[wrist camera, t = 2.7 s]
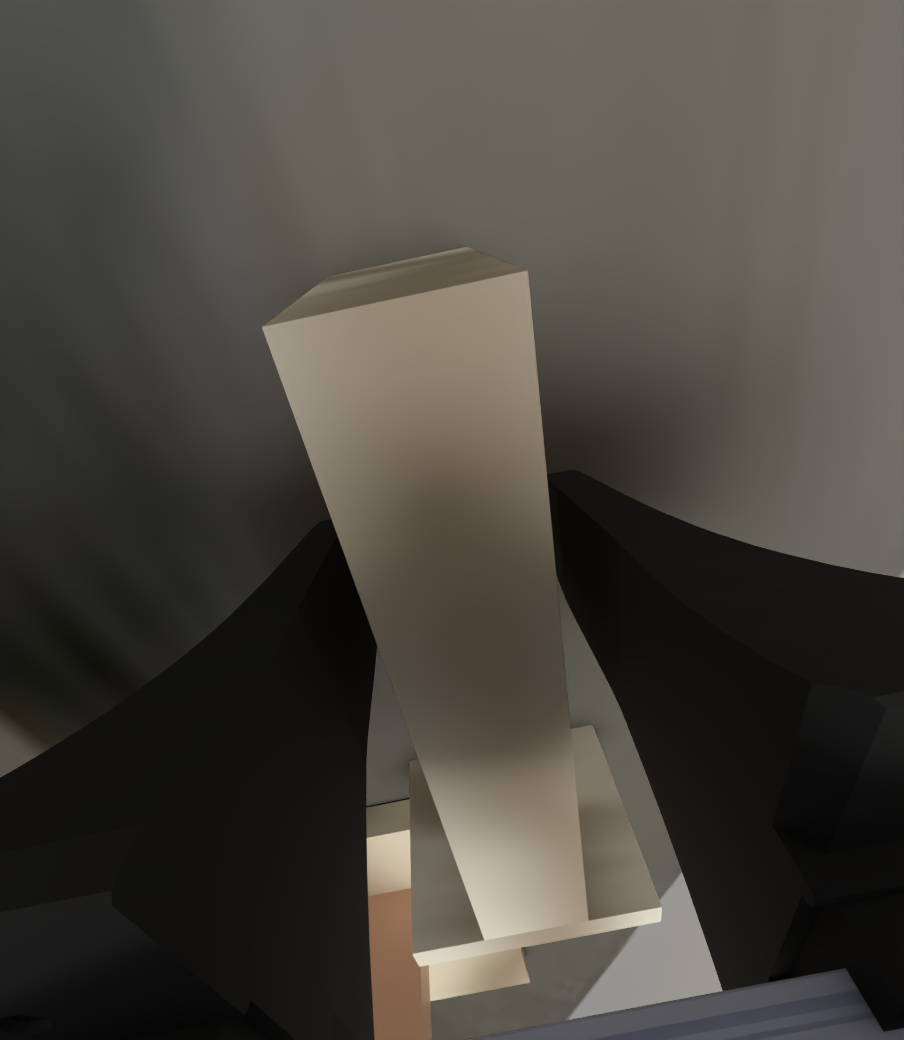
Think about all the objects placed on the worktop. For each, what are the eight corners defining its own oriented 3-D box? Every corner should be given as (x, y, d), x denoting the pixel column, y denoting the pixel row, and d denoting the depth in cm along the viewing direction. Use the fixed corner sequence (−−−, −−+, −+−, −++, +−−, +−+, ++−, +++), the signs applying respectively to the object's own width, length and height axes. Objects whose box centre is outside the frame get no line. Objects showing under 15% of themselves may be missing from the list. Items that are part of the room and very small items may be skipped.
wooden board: (269, 1004, 25) (265, 1032, 24) (110, 857, 17) (95, 890, 16) (525, 956, 25) (530, 982, 24) (479, 785, 17) (483, 815, 16)
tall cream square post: (414, 774, 17) (419, 967, 12) (232, 296, 9) (78, 365, 5) (593, 739, 16) (661, 921, 12) (563, 225, 9) (717, 230, 5)
